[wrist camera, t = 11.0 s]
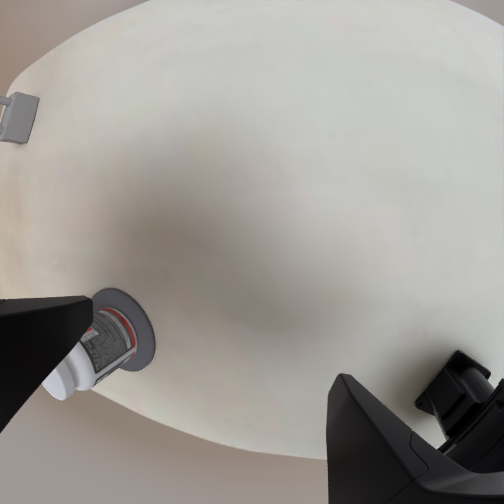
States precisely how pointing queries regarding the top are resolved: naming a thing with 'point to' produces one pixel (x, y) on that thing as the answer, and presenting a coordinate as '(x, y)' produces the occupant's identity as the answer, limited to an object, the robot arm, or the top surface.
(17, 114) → the padlock
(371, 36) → the top surface
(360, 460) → the robot arm
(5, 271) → the top surface
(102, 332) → the pill bottle
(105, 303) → the coaster
